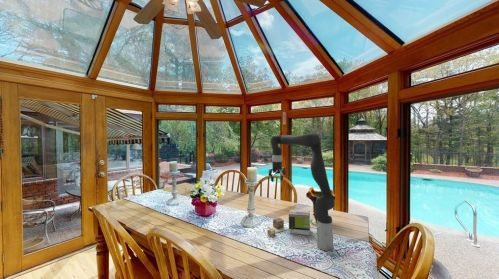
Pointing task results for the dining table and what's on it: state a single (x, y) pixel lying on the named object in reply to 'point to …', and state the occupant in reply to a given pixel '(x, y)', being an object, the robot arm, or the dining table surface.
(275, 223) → the walnut cube
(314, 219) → the decorative vase
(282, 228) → the plate
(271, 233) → the maple block
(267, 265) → the dining table surface
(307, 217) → the tea box
